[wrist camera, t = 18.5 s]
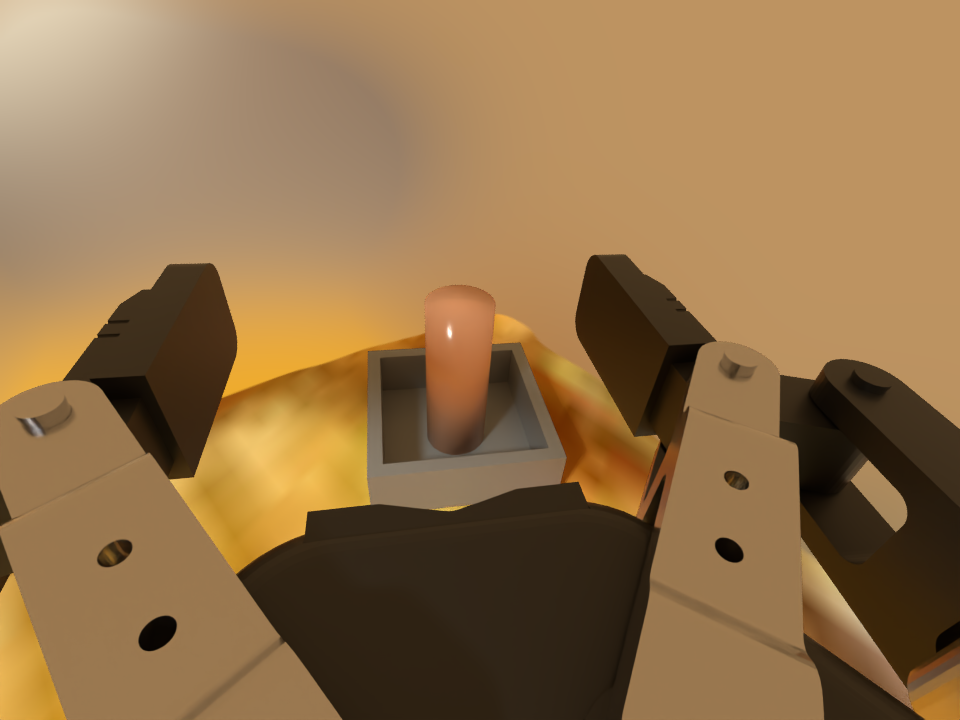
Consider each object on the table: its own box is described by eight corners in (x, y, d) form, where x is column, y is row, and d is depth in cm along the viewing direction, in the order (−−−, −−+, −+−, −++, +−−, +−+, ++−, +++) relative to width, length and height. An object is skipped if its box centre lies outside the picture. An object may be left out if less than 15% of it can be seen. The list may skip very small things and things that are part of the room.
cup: (429, 457, 45) (427, 324, 36) (424, 415, 49) (422, 286, 40) (488, 452, 46) (501, 320, 37) (478, 410, 50) (488, 283, 41)
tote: (372, 515, 40) (367, 477, 37) (371, 387, 53) (367, 351, 50) (557, 494, 43) (566, 457, 40) (515, 377, 56) (520, 342, 52)
